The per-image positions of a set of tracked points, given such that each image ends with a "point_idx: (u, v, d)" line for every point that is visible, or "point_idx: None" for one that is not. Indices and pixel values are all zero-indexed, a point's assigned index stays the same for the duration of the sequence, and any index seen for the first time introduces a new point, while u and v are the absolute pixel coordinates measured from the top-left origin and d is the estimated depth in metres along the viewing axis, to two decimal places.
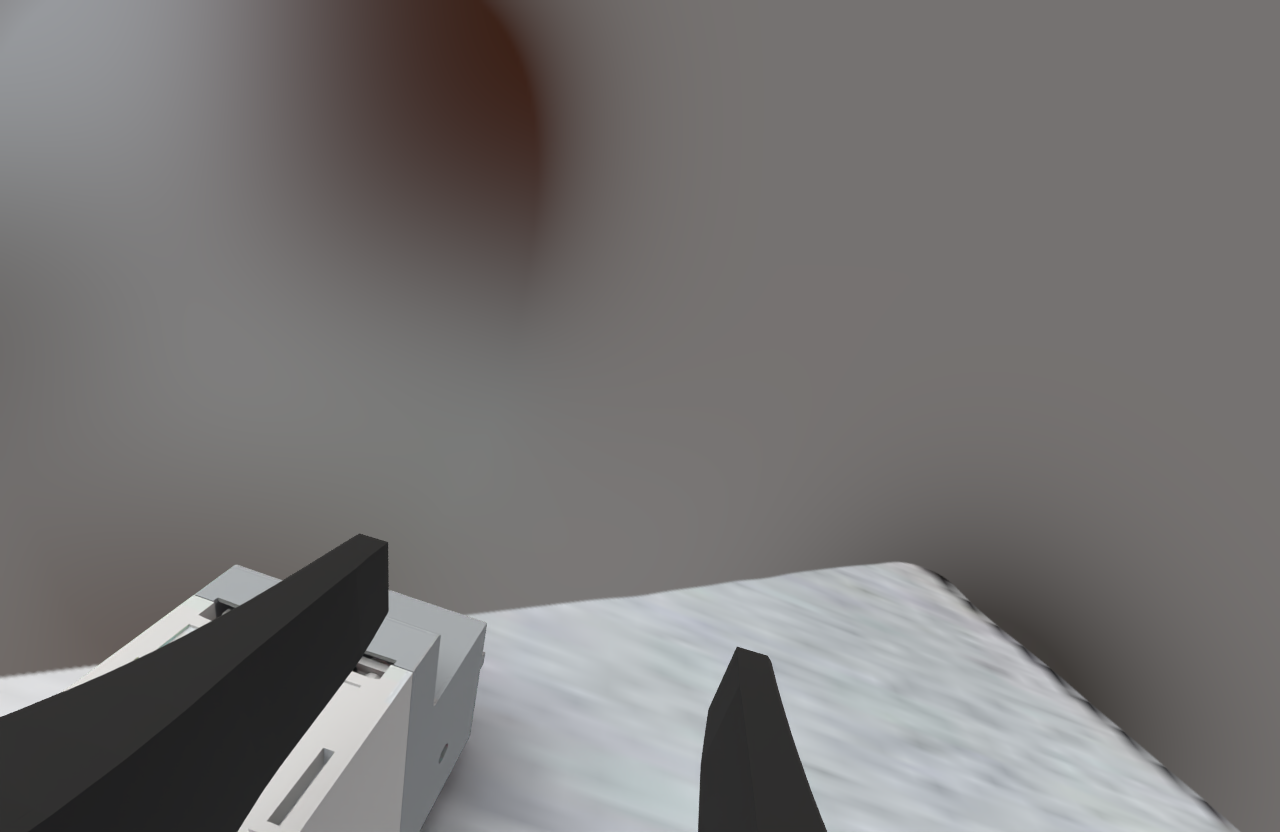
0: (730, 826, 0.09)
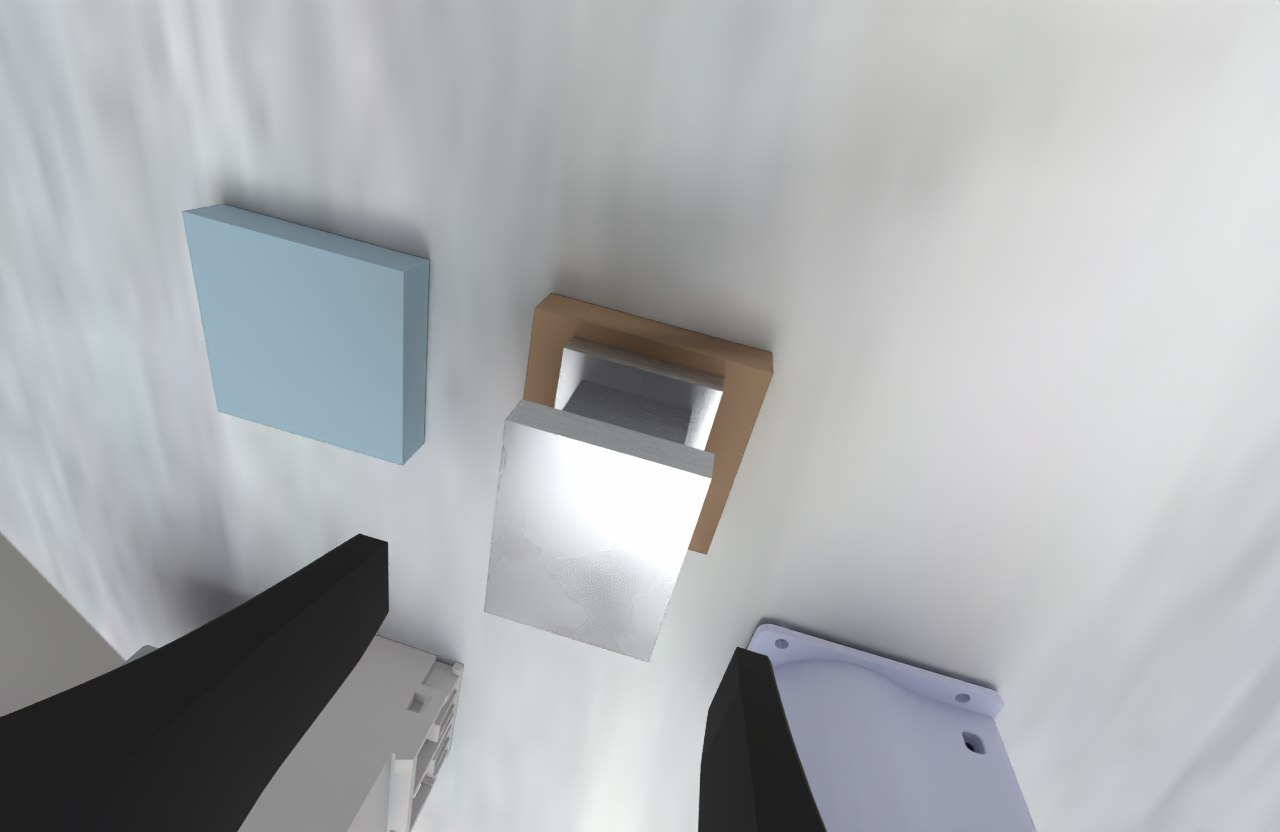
0: (730, 826, 0.09)
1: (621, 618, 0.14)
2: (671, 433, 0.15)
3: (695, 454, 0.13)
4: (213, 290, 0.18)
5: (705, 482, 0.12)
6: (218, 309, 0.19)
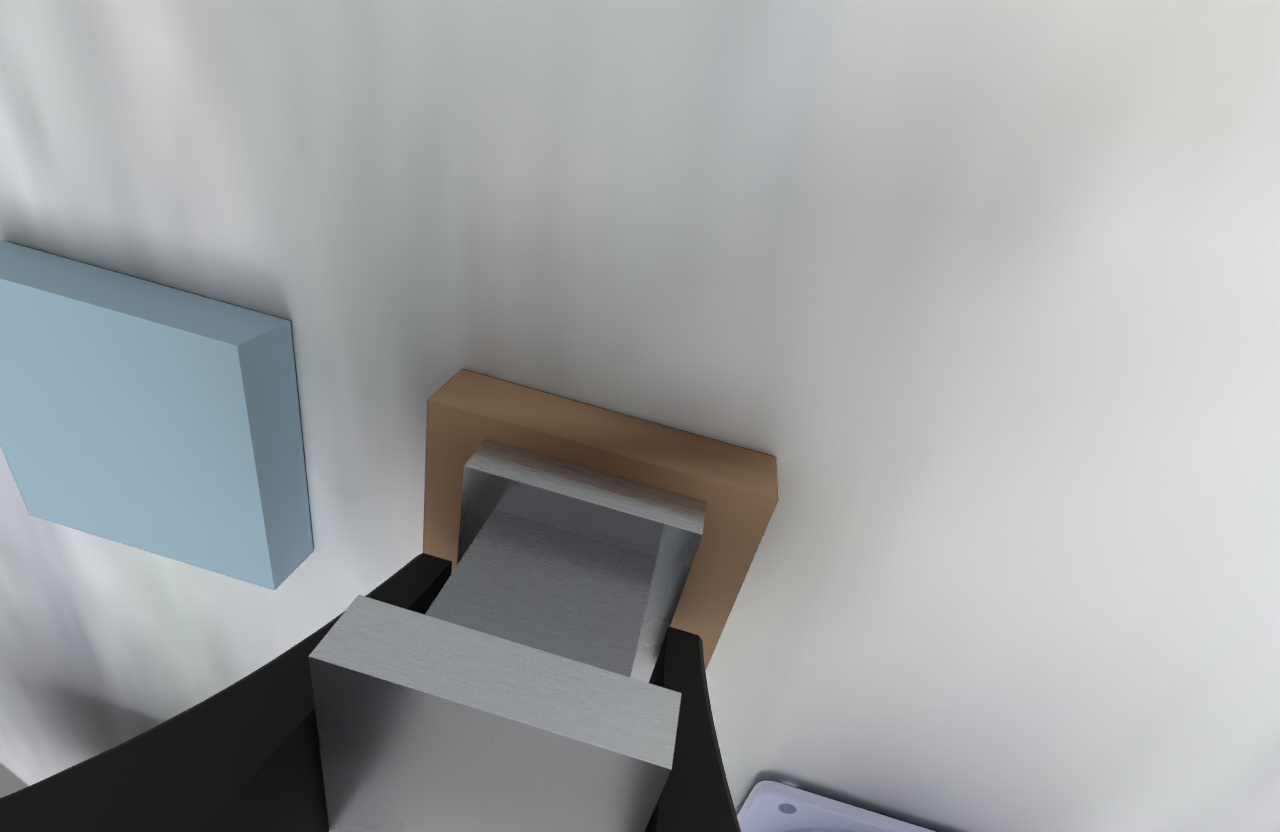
0: None
1: None
2: (620, 613, 0.09)
3: (647, 702, 0.07)
4: None
5: (661, 773, 0.07)
6: None
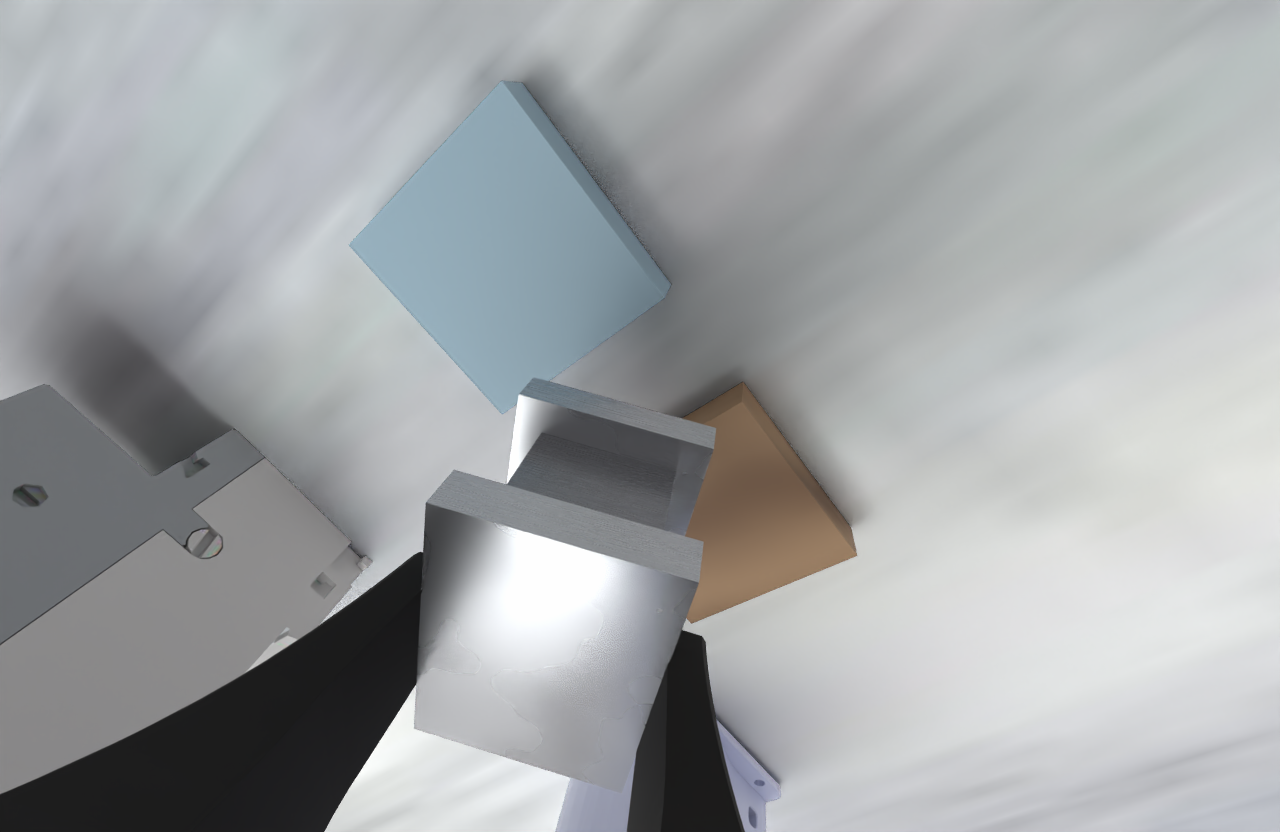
0: (648, 800, 0.09)
1: (586, 742, 0.11)
2: (649, 504, 0.12)
3: (678, 545, 0.10)
4: (461, 160, 0.16)
5: (691, 586, 0.09)
6: (448, 177, 0.16)
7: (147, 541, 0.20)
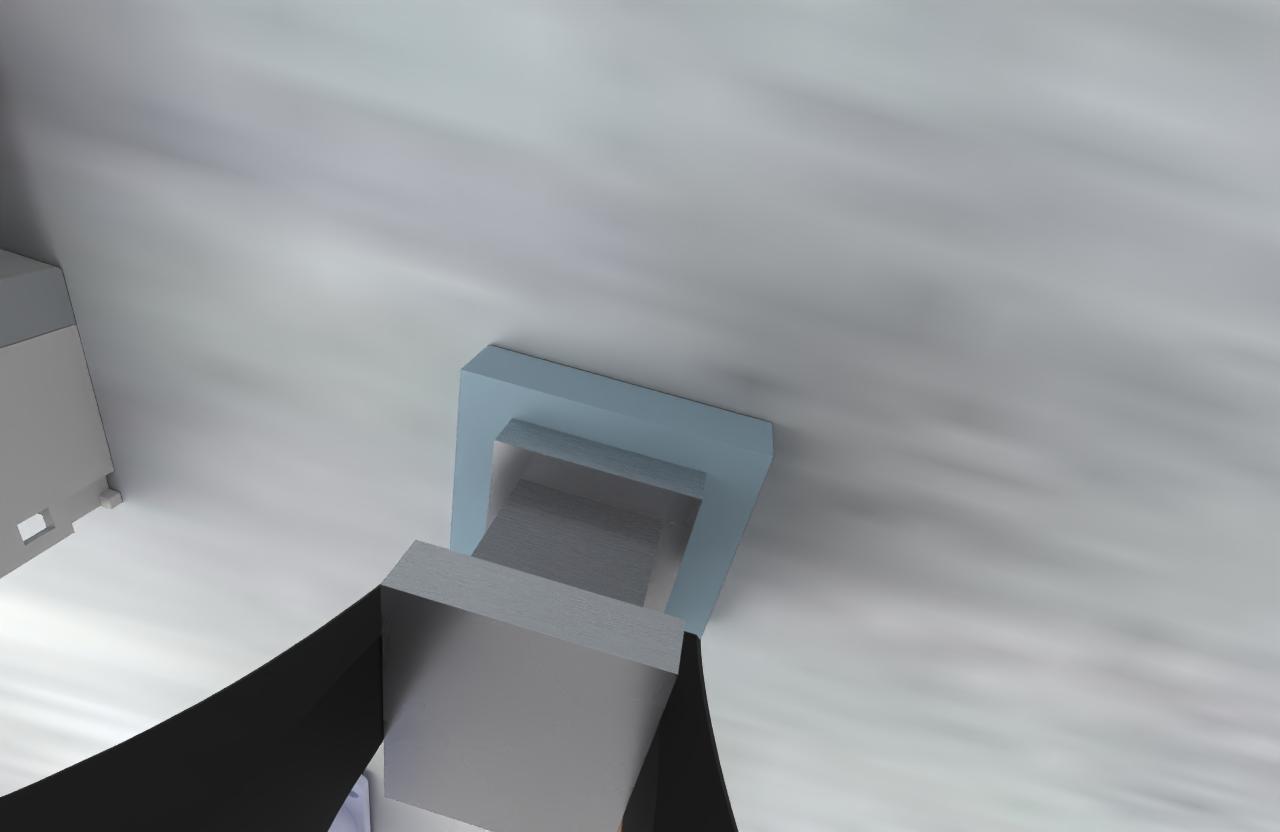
0: (642, 799, 0.09)
1: (563, 819, 0.11)
2: (632, 563, 0.11)
3: (657, 625, 0.09)
4: (663, 451, 0.13)
5: (669, 678, 0.08)
6: (635, 446, 0.13)
7: None
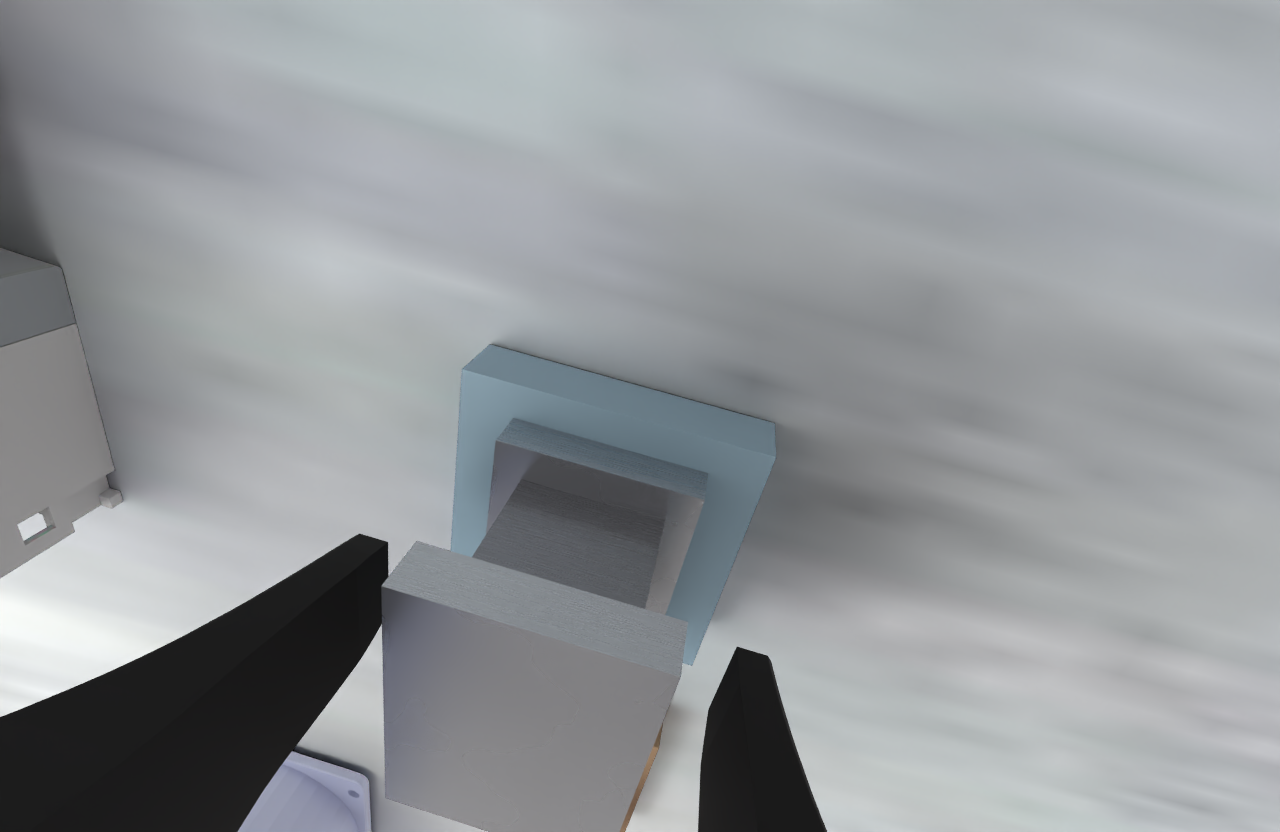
0: (730, 826, 0.09)
1: (565, 821, 0.11)
2: (634, 565, 0.11)
3: (659, 627, 0.09)
4: (665, 452, 0.13)
5: (671, 680, 0.08)
6: (636, 446, 0.13)
7: None
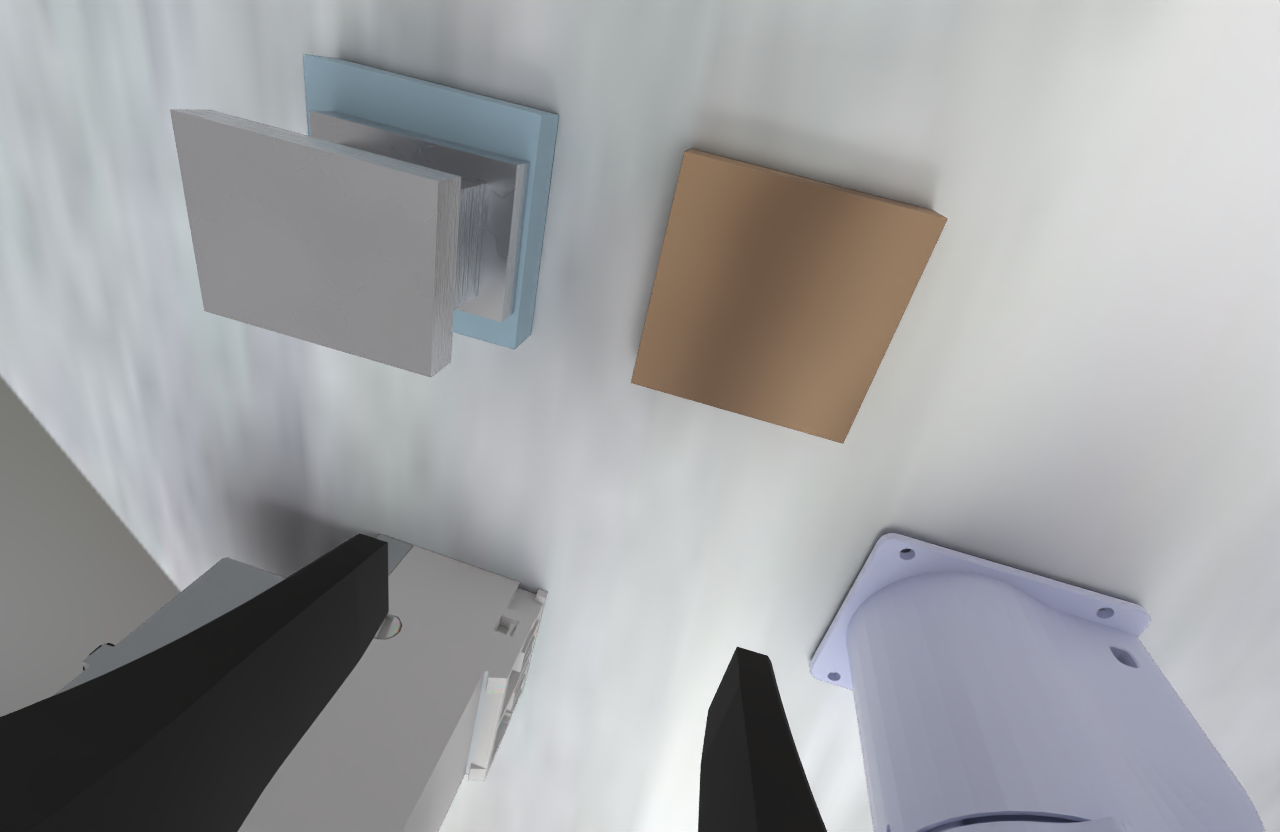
0: (730, 826, 0.09)
1: (380, 215, 0.12)
2: None
3: None
4: None
5: (175, 116, 0.12)
6: None
7: None
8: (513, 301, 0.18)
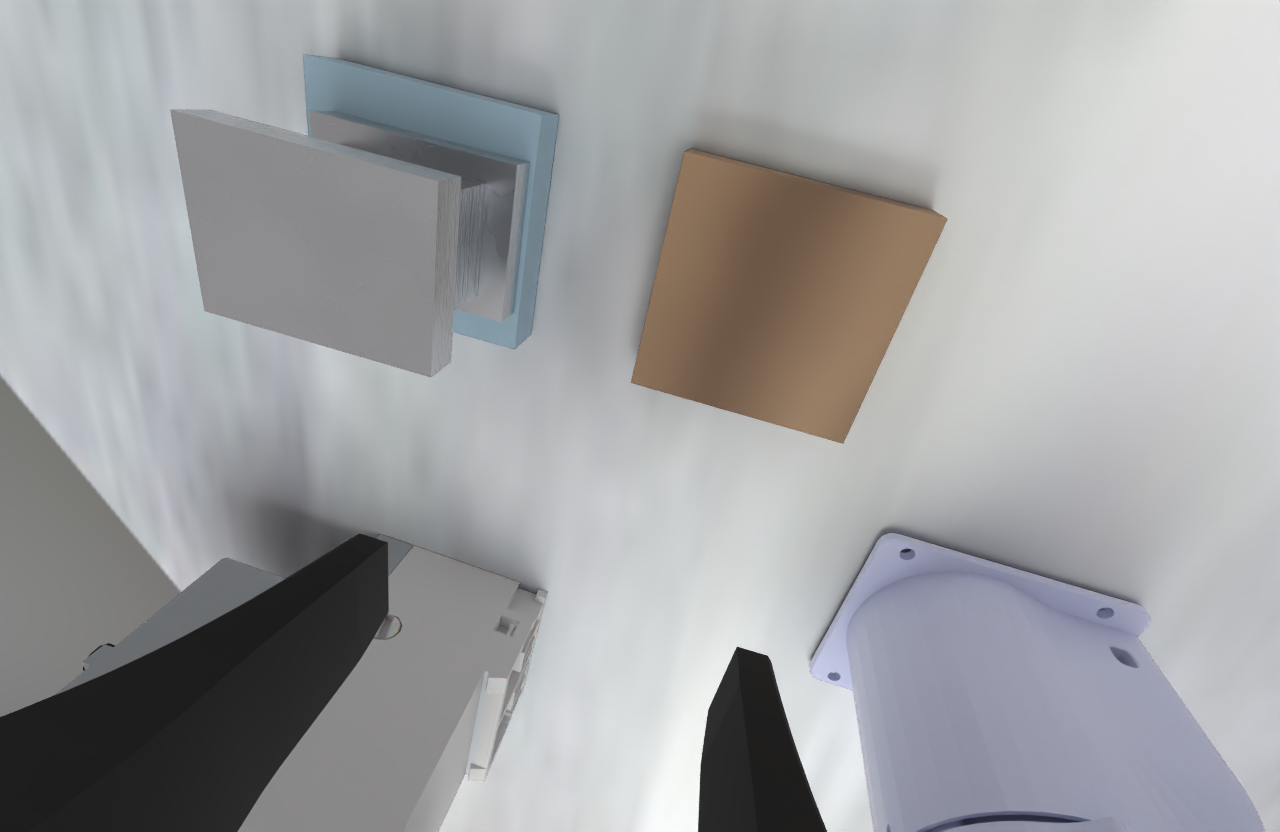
0: (730, 826, 0.09)
1: (380, 215, 0.12)
2: None
3: None
4: None
5: (176, 116, 0.12)
6: None
7: None
8: (513, 301, 0.18)
